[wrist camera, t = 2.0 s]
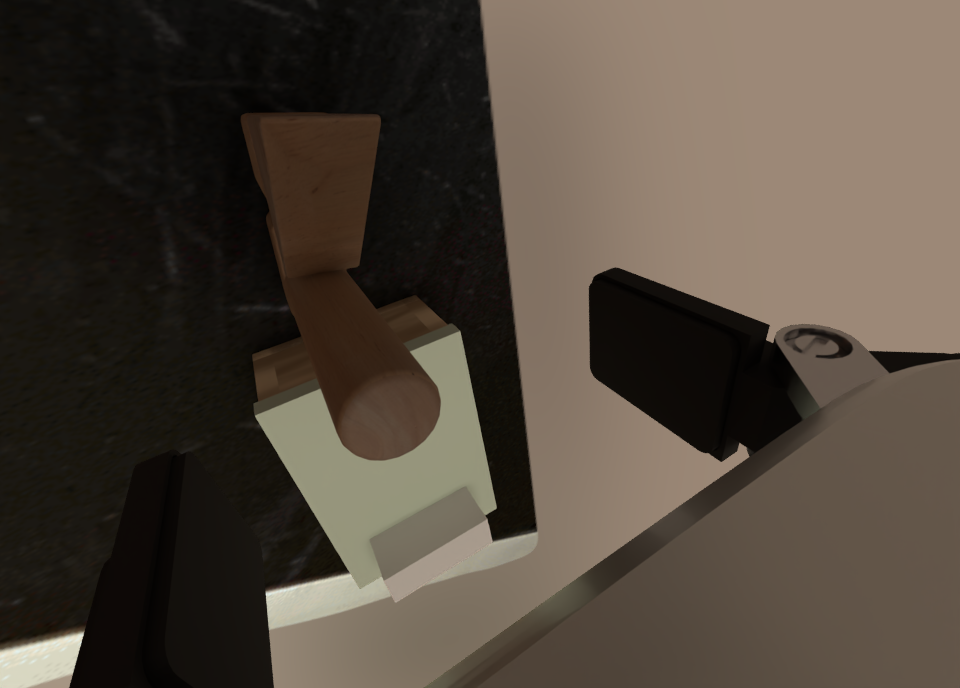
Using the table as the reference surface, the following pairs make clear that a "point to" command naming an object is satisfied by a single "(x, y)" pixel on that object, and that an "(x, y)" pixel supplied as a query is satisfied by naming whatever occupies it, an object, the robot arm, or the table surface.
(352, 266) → the wooden pieces
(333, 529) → the lid
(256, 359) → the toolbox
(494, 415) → the table surface
